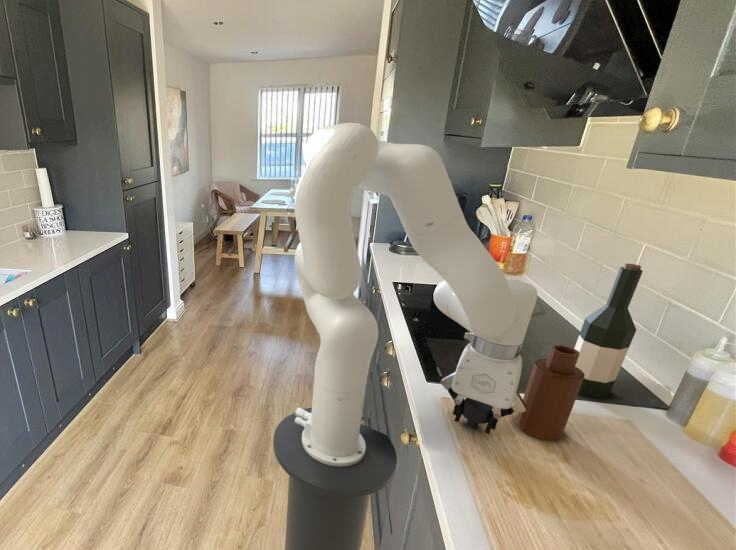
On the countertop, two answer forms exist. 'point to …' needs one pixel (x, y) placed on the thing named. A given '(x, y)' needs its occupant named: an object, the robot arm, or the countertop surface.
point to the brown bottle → (551, 394)
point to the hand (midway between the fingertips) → (472, 423)
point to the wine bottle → (607, 336)
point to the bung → (476, 412)
